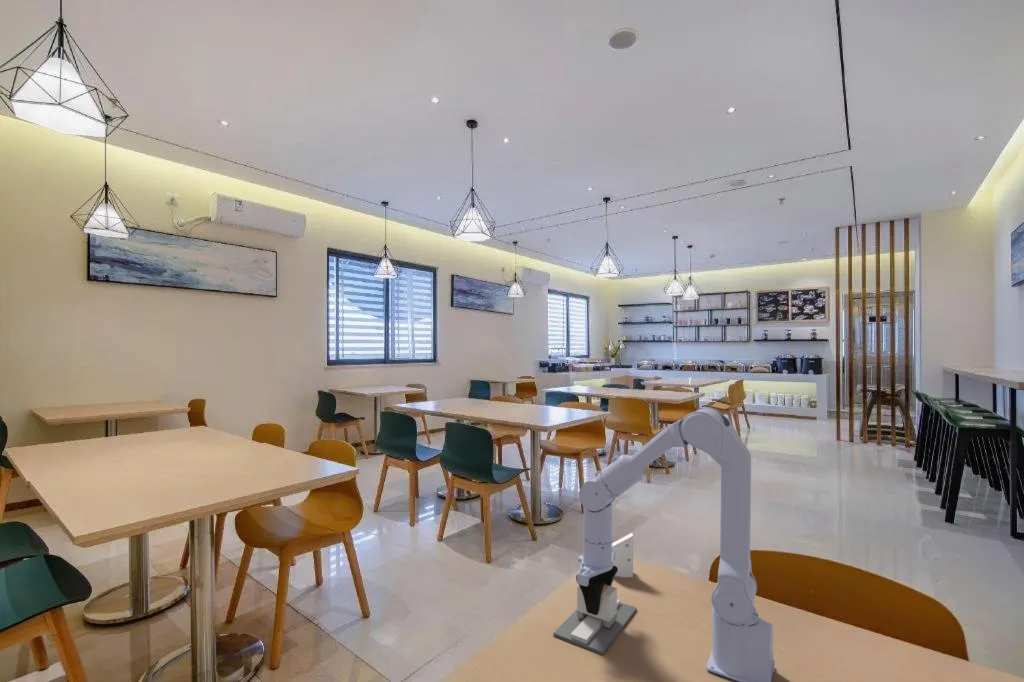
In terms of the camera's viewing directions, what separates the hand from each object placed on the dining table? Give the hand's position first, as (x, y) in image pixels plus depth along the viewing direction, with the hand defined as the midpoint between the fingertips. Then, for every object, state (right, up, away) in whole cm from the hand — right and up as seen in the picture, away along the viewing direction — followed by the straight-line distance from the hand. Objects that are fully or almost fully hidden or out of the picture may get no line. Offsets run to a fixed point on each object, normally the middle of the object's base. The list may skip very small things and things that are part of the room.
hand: (597, 607), depth 93 cm
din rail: (0, -3, 0) cm, 3 cm away
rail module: (0, -2, 0) cm, 2 cm away
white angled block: (+10, -4, +21) cm, 24 cm away
